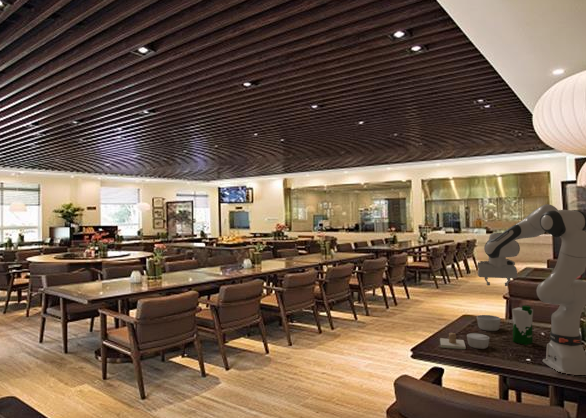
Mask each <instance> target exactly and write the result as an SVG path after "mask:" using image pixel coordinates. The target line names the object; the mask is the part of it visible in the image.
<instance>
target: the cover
mask: <svg viewBox="0 0 586 418" xmlns="http://www.w3.org/2000/svg"><path fill="white" fill-rule="evenodd" d="M440 342H441V343H440ZM439 343H440V347H441V346H445V347H457V348H466V349H467V347H466V344H465V340H464V339H457V333H455V332H449V333H448V338H442V337H440V338H439Z"/></svg>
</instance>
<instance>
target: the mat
mask: <svg viewBox="0 0 586 418" xmlns="http://www.w3.org/2000/svg"><path fill="white" fill-rule="evenodd" d="M439 343H440V344H441V342H440V341H439ZM440 348H443V349H445V348H447V349H456V350H457V349H458V350H466V349H467V347H466V348H457V347H445V346H441V345H440Z"/></svg>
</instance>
